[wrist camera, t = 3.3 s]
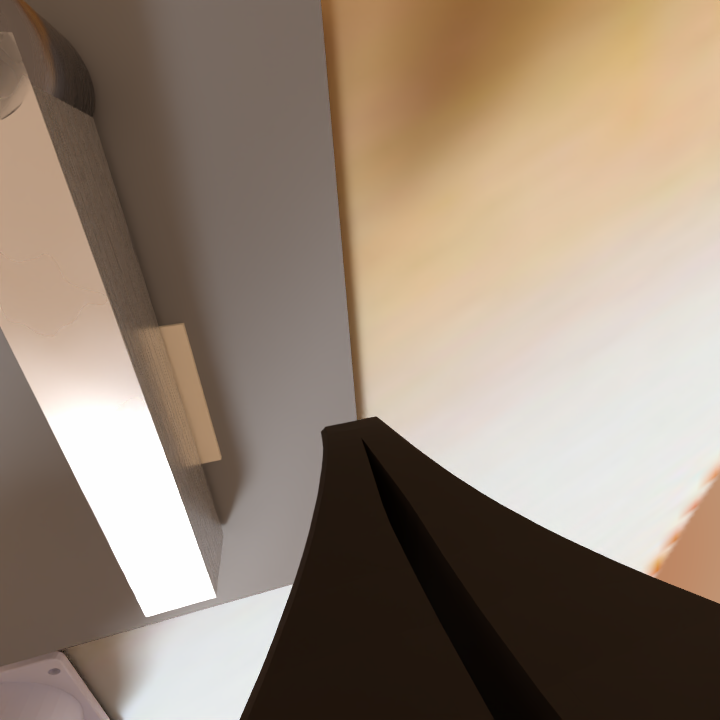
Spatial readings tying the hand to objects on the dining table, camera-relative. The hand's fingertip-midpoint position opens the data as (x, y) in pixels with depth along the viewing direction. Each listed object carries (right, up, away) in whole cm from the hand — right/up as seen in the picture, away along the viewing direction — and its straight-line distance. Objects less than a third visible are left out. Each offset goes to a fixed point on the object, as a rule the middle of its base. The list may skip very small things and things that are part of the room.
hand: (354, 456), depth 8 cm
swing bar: (-8, +3, +4) cm, 9 cm away
